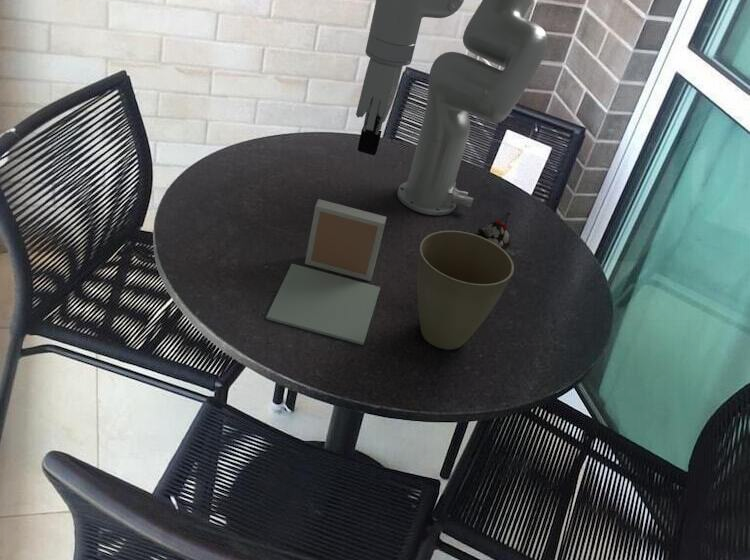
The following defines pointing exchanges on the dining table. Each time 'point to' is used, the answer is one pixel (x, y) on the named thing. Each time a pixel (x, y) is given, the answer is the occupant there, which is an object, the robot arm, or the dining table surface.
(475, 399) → the dining table surface
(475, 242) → the plant pot
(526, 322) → the dining table surface
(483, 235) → the sundae
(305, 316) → the mat
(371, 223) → the tile
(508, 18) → the robot arm
